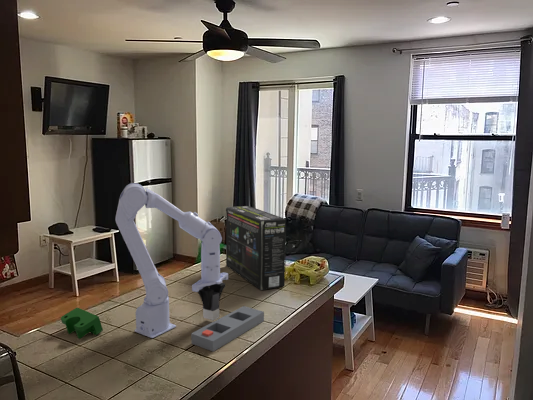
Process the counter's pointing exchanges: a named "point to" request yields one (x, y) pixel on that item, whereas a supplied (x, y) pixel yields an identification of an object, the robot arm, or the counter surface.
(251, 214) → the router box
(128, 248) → the robot arm
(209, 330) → the power strip
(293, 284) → the counter surface
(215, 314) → the plug
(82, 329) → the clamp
